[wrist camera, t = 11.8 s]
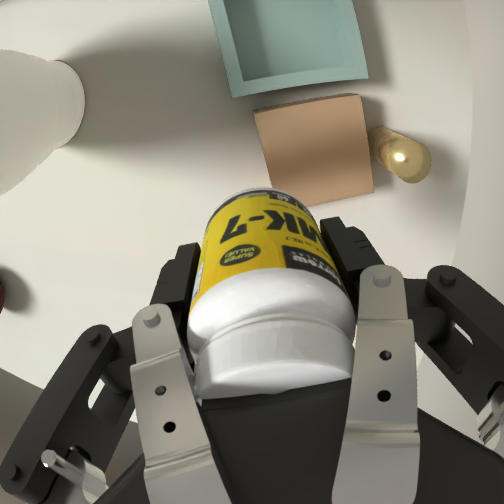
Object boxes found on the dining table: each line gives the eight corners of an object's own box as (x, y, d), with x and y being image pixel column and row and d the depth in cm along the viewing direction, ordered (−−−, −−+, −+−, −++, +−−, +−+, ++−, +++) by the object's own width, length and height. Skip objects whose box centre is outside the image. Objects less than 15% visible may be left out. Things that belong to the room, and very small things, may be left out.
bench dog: (363, 129, 24) (394, 144, 18) (394, 126, 23) (430, 140, 18) (367, 163, 25) (396, 185, 20) (397, 158, 25) (431, 180, 20)
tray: (205, -14, 17) (201, -24, 15) (330, -30, 16) (340, -40, 14) (233, 96, 22) (232, 98, 20) (356, 78, 21) (368, 78, 19)
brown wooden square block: (252, 110, 23) (253, 114, 21) (347, 92, 22) (360, 94, 20) (275, 199, 27) (278, 213, 25) (361, 180, 26) (373, 192, 24)
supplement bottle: (326, 192, 13) (419, 348, 5) (301, 283, 15) (341, 446, 8) (209, 177, 12) (170, 340, 5) (201, 275, 15) (179, 446, 7)
